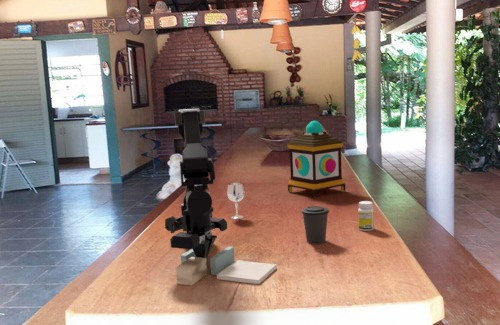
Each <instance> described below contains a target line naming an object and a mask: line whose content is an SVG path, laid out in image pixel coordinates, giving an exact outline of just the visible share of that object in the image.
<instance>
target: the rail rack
mask: <svg viewBox="0 0 500 325" xmlns="http://www.w3.org/2000/svg"><path fill="white" fill-rule="evenodd" d="M191 257H196V255H195V253H194V251H193V249H188V251H186V252H184V253H182V254H181V255H180V260H181V261H180V264H182V263H183V262H185V261H186V260H188V259H189V258H191ZM235 261H236V260H235V247H234V246H226V247H225V248H224V249H223V250H221V251H219V252H218V253H216V254H214V255H213V256H211V257H210V259H209V262H210V273H211V275H216V276H217V274H219V273H220V272H222V271H223V270H224V269H226V268H227V267H228V266H230V265H231V264H233V263H234V262H235Z"/></svg>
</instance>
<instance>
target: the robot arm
mask: <svg viewBox="0 0 500 325" xmlns="http://www.w3.org/2000/svg"><path fill="white" fill-rule="evenodd" d="M205 113H206V112H205V111H204V110H200V108H187V109H186V108H183V109H178V112H174V123H175V124H174V126H175V127H177V130H178V134H179V135H180V136H181V138H182V140H184V141H183V143H184V149H183V150H182V151H181V157H182V158H181V159H182V160H179V169H180V170H179V171H180V182H181V183H180V185H181V187H184V188H185V192H184V194H183V196H182V203H181V204H180V208H181V209H180V210H181V216H177V217H175V216H174V215H173V216H170V217H167V218H165V220H164V226H165V227H164V229H165V230H166V231H168V232H170V234H174V235H173V236H172V237H171V238H170V239H169V241H170V242H169V243H170V248H173V249H180V250H182V249H183V250H191V249H193V251H194V253H195V255H196V257H201V258H206V262H207V261H208V257H209V255H210V253H211V250H212V248H213V246H214V243H215V240H216V239H217V238H218V236H217V235H215V234H214V235H213V232H212V231H213V230H215V229H219V231H220V232H224V231H226V230H227V229H228V221H226V219H225V218H220V217H213V212H214V207H213V206H212V205H213V200H212V196H211V193H210V189H209V187H210V186H209V185H214V180H216V174H215V164H214V162H213V161H212V159H211V158H209V156H208V150H207V149H206V148H205V147H204V146H203V145H202V139H201V137H202V136H201V135H202V133H203V130H204V128H203V125H206V117H205V116H206V114H205ZM181 230H182V231H181ZM178 231H180V232H178ZM175 232H178V233H176V234H175Z"/></svg>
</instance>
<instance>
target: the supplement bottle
mask: <svg viewBox="0 0 500 325" xmlns="http://www.w3.org/2000/svg"><path fill="white" fill-rule="evenodd" d="M358 207H359V208H358V209H357V214H358V216H357V223H358V229H359V231H363V232H370V231H373V230H374V229H375V210H374V208H373V202H372V201H368V200H362V201H359V202H358Z"/></svg>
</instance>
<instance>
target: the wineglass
mask: <svg viewBox="0 0 500 325" xmlns="http://www.w3.org/2000/svg"><path fill="white" fill-rule="evenodd" d="M244 197H245V190H244V186H243V183H242V182H231V183H228V185H227V198H228V199H229V200H230V201H231V202H234V206H235V211H236V212H235V215H233V216H231V218H230V219H231V220H232V219H233V220H241V219H244V216H243V215H239V213H238V207H239V204H238V202H240V201H242V200H243V199H244Z"/></svg>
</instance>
